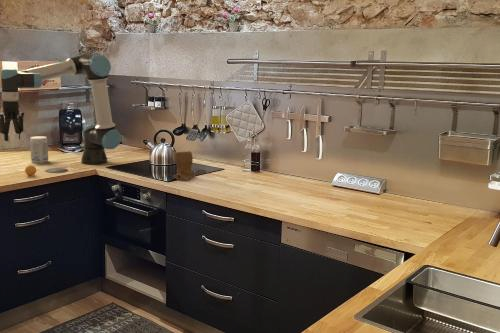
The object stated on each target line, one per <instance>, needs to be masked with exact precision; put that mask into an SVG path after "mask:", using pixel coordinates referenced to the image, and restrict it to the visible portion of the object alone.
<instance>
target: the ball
mask: <svg viewBox="0 0 500 333" xmlns="http://www.w3.org/2000/svg"><path fill="white" fill-rule="evenodd" d="M24 172H25V174H26V175H27V176H28V177H29V176H34V175H36V174H37V168H36V166H34V165H30V164H29V165H27V166H26V167H25V169H24Z"/></svg>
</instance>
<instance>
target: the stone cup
mask: <svg viewBox="0 0 500 333" xmlns="http://www.w3.org/2000/svg"><path fill="white" fill-rule="evenodd" d="M193 161H194V160H193V152H191V150H190V151H188V150H187V151H176V152H174V162H175V164H176V168H177V172H176V173H175V174H173V175H172V177H173V178H174V179H175V180H177V181H185V180H189V179H191V178H194V177H195V176H197V175H198V173H195V172H193V171H192V165H193Z"/></svg>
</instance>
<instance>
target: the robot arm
mask: <svg viewBox="0 0 500 333" xmlns="http://www.w3.org/2000/svg"><path fill="white" fill-rule="evenodd" d="M111 68H112V65H111V62H110V60H109V58H107V57H106V56H105V55H102V54H97V53H95V54H93V53H84V54H80V55H76V56H72V57H70V58H67V59H66V60H65V61H60V62H59V61H58V62H55V63H51V64H46V65H42V66H37V67H33V68H28V69H24V70H19V71H18V70H17V69H16V68H2V69H1V70H0V83H1V99H2V104H1V105H2V106H1V107H2V112H1V113H0V134H2V135H3V138H4V141H5V148H8V149H9V148H10V149H11V148H12V146H11V145H12V144H11V134H9V132H10V128H11V122H12V124H13V128H14V133H13V143H14V147H18V148H19V147H20V140H21V135H20V134H22V133H23V132H24V116H25V112H22V111H20V101H19V98H20V97H19V89H39V88H41V87H42V85H43V81H47V80H51V79H56V78H60V77H65V76H69V75H71V76H76V75H85V76H86V78H87V79H86V80H87V81H88V82H89V83H90V86H91V88H90V89H91V94H92V99H93V106H94V111H95V118H96V124H85V125H84V126H83V153H82V156H81V159H80V162H81V163H82V164H83V165H104V164H107V163H108V157H107V154H106V151H105V150H114V149H116V148H117V147H119V144H121V141H122V135H121V132H119V131H118V130H117V127H116V126H117V125H116V123H115V122H113V117H112V110H111V104H110V103H111V102H110V98H109V91H108V90H109V89H108V84H107V81H108V80H109V78H110V77H109V74H110V72H111Z"/></svg>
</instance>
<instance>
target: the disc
mask: <svg viewBox="0 0 500 333" xmlns="http://www.w3.org/2000/svg"><path fill="white" fill-rule="evenodd" d="M44 171H45V172H46V173H48V174H49V173H50V174H58V173H59V174H61V173H65V172H68V171H69V169H67V168H64V167H54V168H53V167H52V168H51V167H50V168H47V169H45V170H44Z"/></svg>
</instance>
